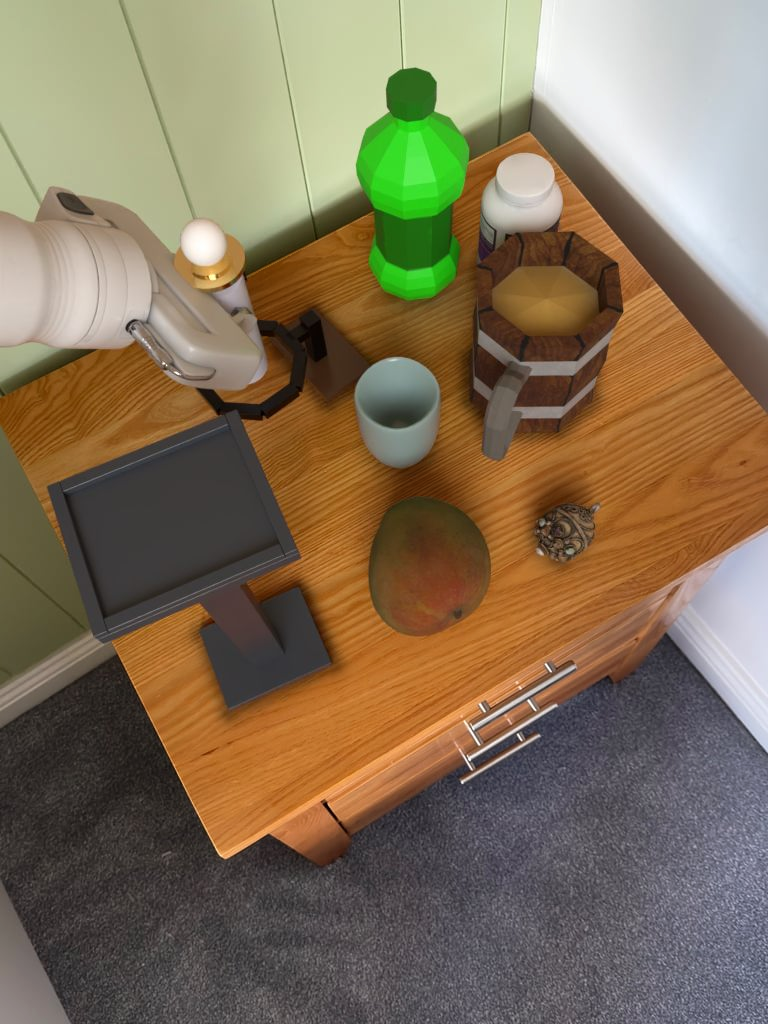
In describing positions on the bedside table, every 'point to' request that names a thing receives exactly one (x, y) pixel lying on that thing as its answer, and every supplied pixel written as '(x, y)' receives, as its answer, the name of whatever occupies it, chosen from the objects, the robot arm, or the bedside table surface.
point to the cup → (398, 411)
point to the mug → (540, 333)
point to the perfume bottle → (217, 271)
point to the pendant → (565, 531)
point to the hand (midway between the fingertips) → (229, 299)
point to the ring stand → (301, 365)
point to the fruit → (427, 566)
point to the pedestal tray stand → (191, 553)
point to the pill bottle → (518, 201)
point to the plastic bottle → (413, 188)
